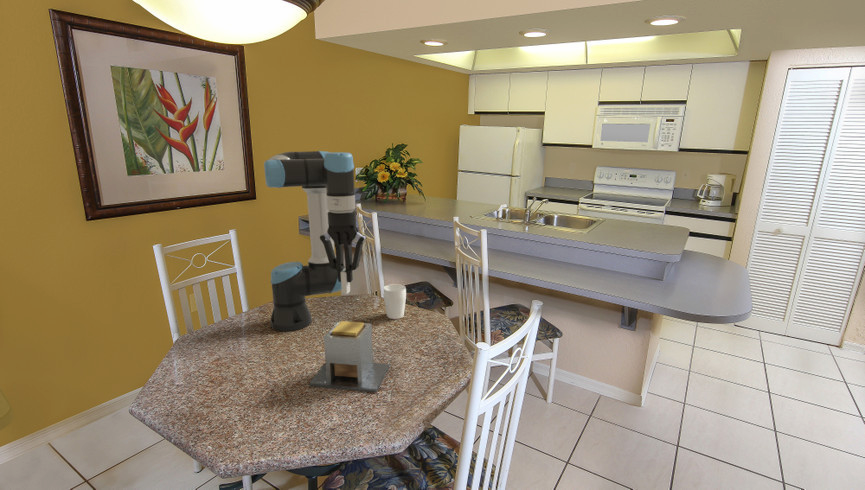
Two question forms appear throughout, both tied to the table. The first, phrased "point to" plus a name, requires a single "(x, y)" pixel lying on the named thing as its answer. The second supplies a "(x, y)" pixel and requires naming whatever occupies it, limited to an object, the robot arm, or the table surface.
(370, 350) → the chute
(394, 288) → the cup
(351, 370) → the block
